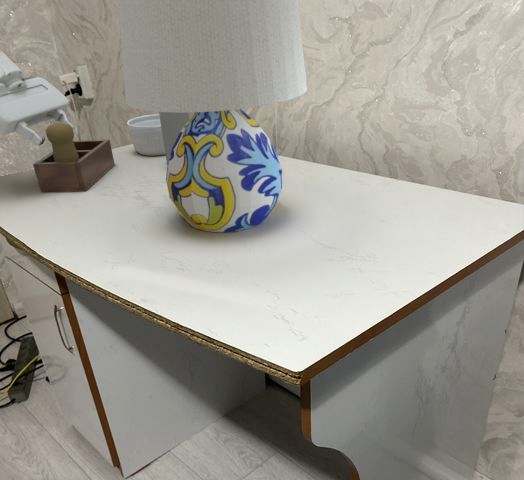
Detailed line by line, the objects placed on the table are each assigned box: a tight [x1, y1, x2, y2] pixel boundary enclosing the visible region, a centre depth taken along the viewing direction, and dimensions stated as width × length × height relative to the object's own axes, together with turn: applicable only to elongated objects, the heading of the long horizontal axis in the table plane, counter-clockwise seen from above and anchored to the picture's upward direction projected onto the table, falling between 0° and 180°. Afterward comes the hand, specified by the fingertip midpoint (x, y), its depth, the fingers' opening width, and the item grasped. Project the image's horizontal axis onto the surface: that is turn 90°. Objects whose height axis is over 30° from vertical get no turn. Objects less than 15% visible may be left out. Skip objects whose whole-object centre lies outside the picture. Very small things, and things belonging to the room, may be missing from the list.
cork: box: [45, 122, 79, 162], centre depth 108 cm, size 6×6×11 cm
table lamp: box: [117, 0, 308, 233], centre depth 80 cm, size 27×27×40 cm
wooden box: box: [32, 139, 116, 193], centre depth 113 cm, size 10×18×6 cm, turn 174°
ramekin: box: [126, 113, 166, 157], centre depth 129 cm, size 13×13×7 cm
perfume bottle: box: [158, 112, 195, 165], centre depth 114 cm, size 7×7×18 cm
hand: (56, 136), depth 106 cm, fingers open, 8 cm apart
